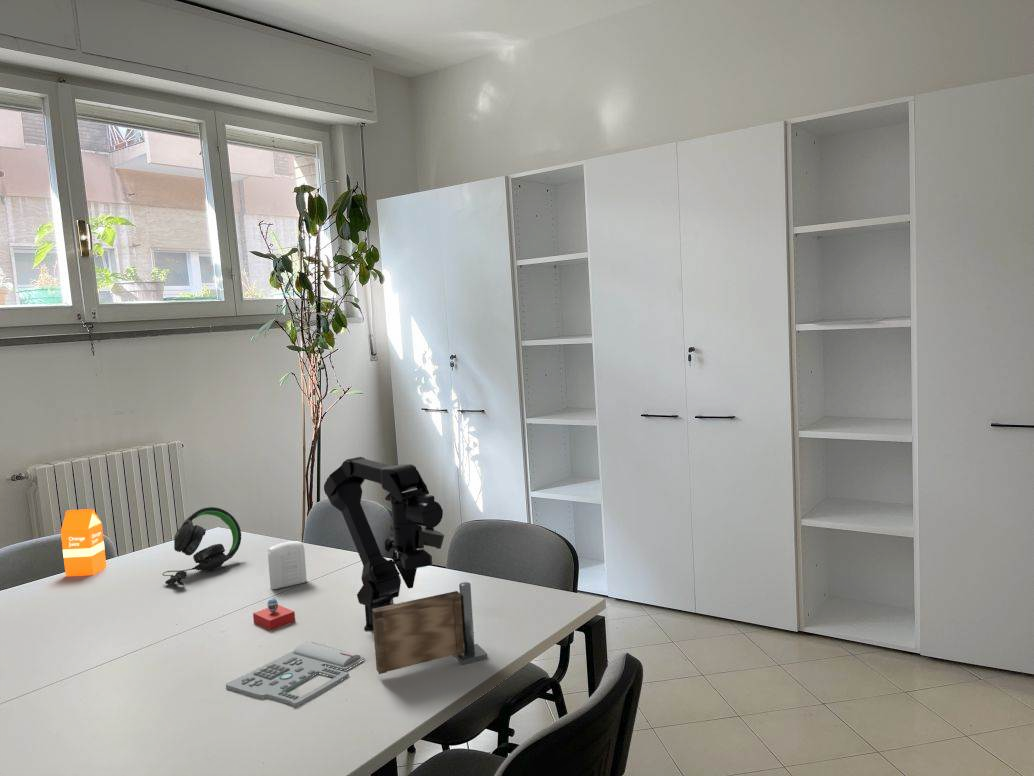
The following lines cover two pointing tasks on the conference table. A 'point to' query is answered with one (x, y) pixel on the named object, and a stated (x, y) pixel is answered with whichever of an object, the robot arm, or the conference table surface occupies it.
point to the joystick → (273, 616)
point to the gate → (417, 631)
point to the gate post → (468, 629)
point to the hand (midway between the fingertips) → (410, 587)
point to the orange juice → (82, 543)
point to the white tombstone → (287, 564)
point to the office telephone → (295, 673)
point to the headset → (191, 539)
